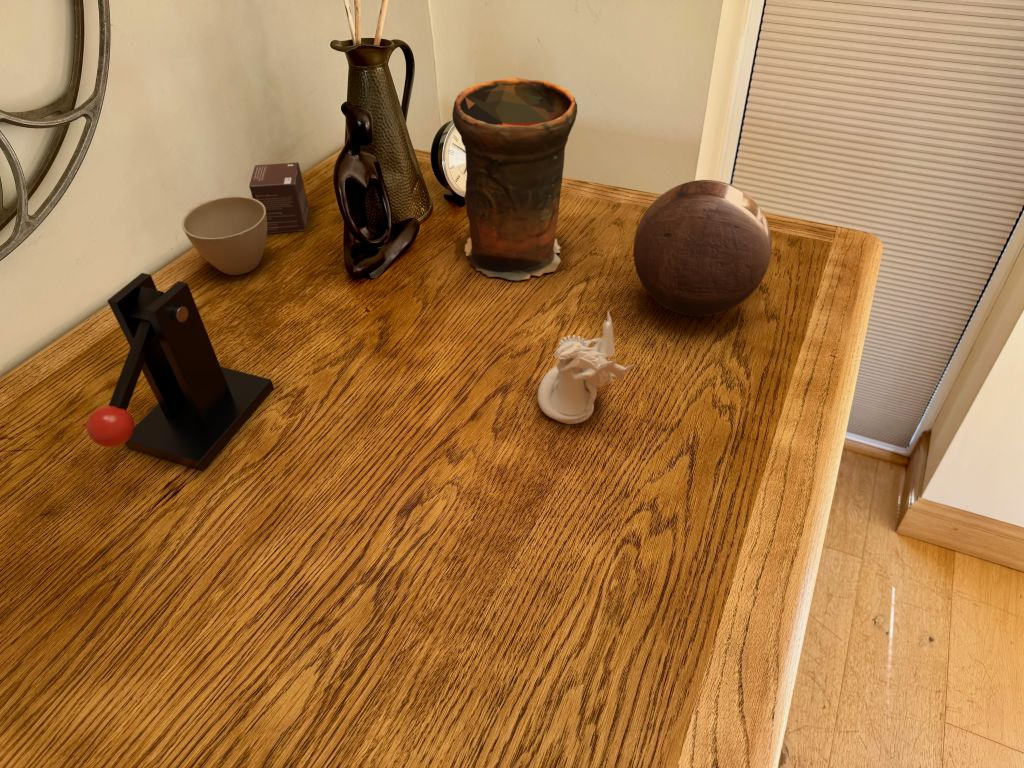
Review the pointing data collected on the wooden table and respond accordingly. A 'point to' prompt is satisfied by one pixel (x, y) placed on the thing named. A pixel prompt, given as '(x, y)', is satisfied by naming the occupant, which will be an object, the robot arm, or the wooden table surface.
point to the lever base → (185, 380)
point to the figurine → (579, 376)
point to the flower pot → (228, 232)
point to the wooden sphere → (702, 248)
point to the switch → (125, 381)
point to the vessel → (514, 173)
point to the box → (281, 196)
